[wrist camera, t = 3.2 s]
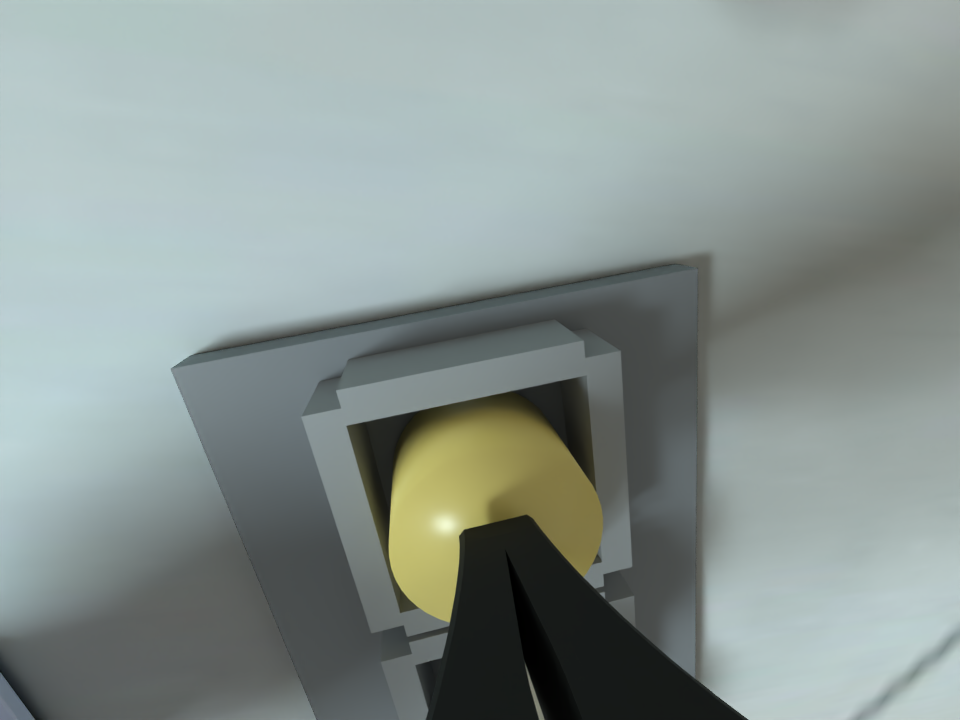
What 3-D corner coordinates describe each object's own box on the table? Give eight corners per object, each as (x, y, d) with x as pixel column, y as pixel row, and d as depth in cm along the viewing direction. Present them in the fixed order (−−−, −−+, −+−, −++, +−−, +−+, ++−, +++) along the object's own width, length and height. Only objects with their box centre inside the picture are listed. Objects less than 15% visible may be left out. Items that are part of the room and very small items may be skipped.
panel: (387, 852, 19) (383, 967, 16) (190, 355, 11) (118, 404, 8) (680, 763, 20) (726, 855, 17) (675, 263, 12) (754, 279, 10)
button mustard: (412, 549, 12) (414, 648, 10) (374, 407, 11) (364, 474, 8) (564, 512, 13) (609, 597, 10) (548, 371, 11) (595, 423, 9)
